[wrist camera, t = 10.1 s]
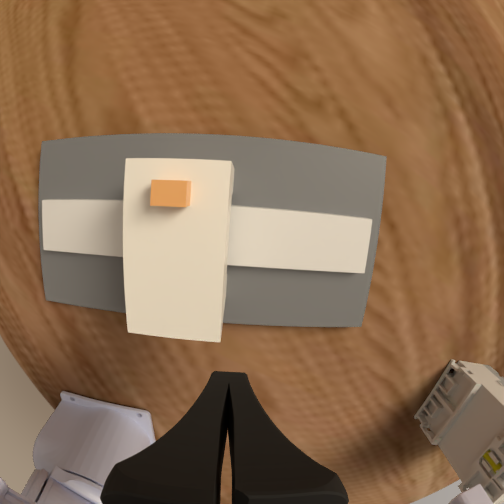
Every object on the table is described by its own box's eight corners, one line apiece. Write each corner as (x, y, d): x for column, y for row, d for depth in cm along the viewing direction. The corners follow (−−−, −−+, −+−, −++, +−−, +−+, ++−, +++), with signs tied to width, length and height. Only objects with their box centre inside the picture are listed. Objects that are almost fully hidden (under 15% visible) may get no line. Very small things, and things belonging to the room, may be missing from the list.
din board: (52, 295, 20) (40, 303, 18) (49, 142, 17) (35, 140, 15) (356, 321, 21) (365, 331, 19) (379, 157, 18) (391, 155, 17)
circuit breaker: (479, 415, 26) (534, 481, 11) (413, 416, 24) (476, 516, 10) (509, 368, 24) (576, 428, 10) (451, 359, 23) (541, 451, 8)
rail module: (158, 290, 19) (121, 342, 12) (161, 165, 17) (116, 156, 10) (226, 295, 19) (219, 353, 12) (234, 168, 17) (230, 158, 11)
